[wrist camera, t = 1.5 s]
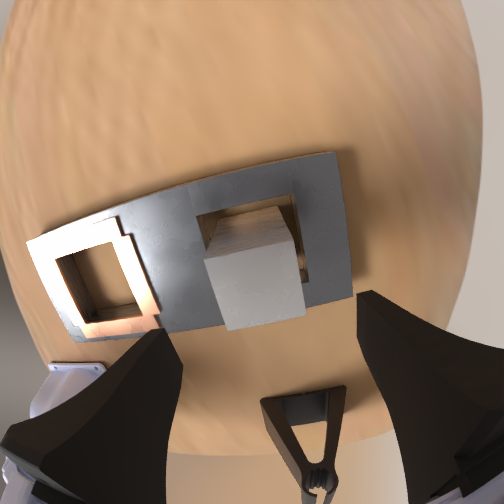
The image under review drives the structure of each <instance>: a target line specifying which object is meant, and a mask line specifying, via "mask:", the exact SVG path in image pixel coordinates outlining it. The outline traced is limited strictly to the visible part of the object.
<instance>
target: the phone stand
mask: <svg viewBox="0 0 504 504" xmlns="http://www.w3.org/2000/svg"><path fill="white" fill-rule="evenodd" d="M346 388H347V387H346V386H344V385H342V386H337V387H333V388H328V389H323V390H317V391H312V392H306V393H305V394H302V393H300V394H293V395H287V396H279V397H271V398H263V399H261V400H260V404H261V408H262V412H263V417H264V421H265V425H266V430H267V432H268V433H269V435H270V437H271V439H272V441H273V442H274V444H275V446H276V448H277V449H278V451H279V453H280V454H281V456H282V458H283V460H284V461H285V463H286V465H287V466H288V468H289V469H290V471H291V473H292V475H293V476H294V478H295V479H296V481H297V483H298V484H299V486H300V488H301V493H302V504H315V503H316V498H317V494H313V493H311V492H309V488H310V489H313V488H314V487H317V488H319V487H322V489H325V490H326V491H327V493H326V497H325V500H324V503H323V504H330V503H331V501H332V498H333V496H334V494H335V491H336V488H337V486H338V481H339V480H338V476H337V474H336V471H335V466H334V463H335V457H336V452H337V447H338V441H339V436H340V430H341V424H342V418H343V411H344V404H345V396H346ZM320 421H326V422H327V431H326V441H325V450H324V458H323V460H322V461H321V462H319V463H316V464H315V463H310V462H309V461H308V460H307V458H306V456H305V454H304V452H303V450H302V448H301V446H300V444H299V442H298V440H297V438H296V436H295V434H294V432H293V430H292V428H291V426H296V425H303V424H309V423H314V422H320Z"/></svg>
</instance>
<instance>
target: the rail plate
mask: <svg viewBox="0 0 504 504" xmlns="http://www.w3.org/2000/svg"><path fill="white" fill-rule="evenodd" d="M288 194H290V196H291V201H292V206H293V211H294V216H295V221H296V226H297V232H298V237H299V243H300V249H301V254H302V260H303V266H304V269H303V270H299V273H300V279H301V285H302V291H303V297H304V303H305V308H308V307H313V306H317V305H321V304H325V303H329V302H333V301H337V300H341V299H345V298H349V297H353V286H352V272H351V259H350V248H349V239H348V230H347V221H346V213H345V206H344V199H343V192H342V185H341V179H340V173H339V167H338V162H337V156H336V152H331V151H325V152H319V153H313V154H307V155H301V156H296V157H291V158H286V159H281V160H276V161H271V162H266V163H262V164H257V165H253V166H248V167H244V168H240V169H235V170H231V171H227V172H223V173H219V174H215V175H212V176H208V177H204V178H200V179H197V180H193V181H189V182H186V183H182V184H179V185H176V186H172V187H169V188H166V189H162V190H159V191H156V192H153V193H149V194H146V195H143V196H140V197H137V198H134V199H131V200H128V201H125V202H122V203H120V204H117V205H114V206H111V207H108V208H106V209H103V210H100V211H97V212H95V213H92V214H89V215H87V216H84V217H82V218H79V219H77V220H74V221H72V222H69V223H67V224H64V225H62V226H59V227H57V228H55V229H52V230H50V231H48V232H46V233H43V234H41V235H39V236H37V237H35V238H34V239H32V240H30V241H29V242H27V245H28V248H29V251H30V253H31V256H32V258H33V261H34V263H35V266H36V268H37V271H38V273H39V275H40V277H41V280H42V282H43V284H44V286H45V288H46V290H47V293H48V295H49V297H50V299H51V301H52V303H53V305H54V307H55V308H56V310H57V312H58V314H59V316H60V318H61V320H62V321H63V323H64V325H65V327H66V329H67V330H68V332H69V334H70V335H71V337H72V339H73V340H74V342H75V343H79V342H93V341H105V340H115V339H125V338H134V337H142V336H144V335H145V334H146V333H147V332H148V331H150V330H151V329H158V328H165V330H166V332H167V333H174V332H181V331H188V330H194V329H201V328H207V327H213V326H219V325H225V322H224V319H223V317H222V314H221V311H220V308H219V305H218V302H217V299H216V296H215V293H214V290H213V287H212V284H211V281H210V278H209V275H208V272H207V269H206V266H205V263H204V257H205V255H206V252H207V249H208V247H209V244H210V238H209V235H208V231H207V228H206V224H205V221H204V217H203V214H206V213H210V212H214V211H218V210H222V209H226V208H230V207H235V206H239V205H243V204H247V203H252V202H256V201H261V200H265V199H270V198H274V197H279V196H284V195H288ZM111 240H112V242H113V245H114V248H115V250H116V253H117V255H118V258H119V261H120V263H121V266H122V268H123V271H124V273H125V275H126V278H127V280H128V282H129V285H130V287H131V289H132V292H133V294H134V296H135V298H136V301H137V303H134V304H128V305H123V306H117V307H111V308H105V309H99V310H97V309H96V308H95V306H94V304H93V301H92V299H91V297H90V295H89V293H88V291H87V289H86V287H85V285H84V282H83V280H82V278H81V276H80V273H79V271H78V269H77V266H76V264H75V262H74V259H73V257H72V254H71V253H73V252H76V251H79V250H82V249H86V248H89V247H92V246H95V245H98V244H102V243H105V242H108V241H111Z"/></svg>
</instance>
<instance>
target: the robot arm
mask: <svg viewBox="0 0 504 504" xmlns="http://www.w3.org/2000/svg"><path fill="white" fill-rule="evenodd" d="M357 339H358V342H359V345H360V348H361V351H362V353H363V356H364V359H365V361H366V363H367V365H368V367H369V369H370V371H371V373H372V376H373V378H374V380H375V382H376V384H377V386H378V388H379V390H380V392H381V394H382V396H383V399H384V401H385V403H386V405H387V408H388V410H389V413H390V416H391V419H392V423H393V426H394V429H395V433H396V436H397V440H398V444H399V448H400V452H401V457H402V462H403V466H404V472H405V478H406V485H407V492H408V502H409V504H504V349H501V348H496V347H491V346H488V345H484V344H481V343H477V342H474V341H470V340H467V339H464V338H462V337H459V336H456V335H454V334H452V333H449V332H447V331H444V330H442V329H440V328H438V327H436V326H434V325H432V324H430V323H428V322H426V321H424V320H422V319H420V318H418V317H417V316H415V315H413V314H411V313H410V312H408V311H406V310H405V309H403V308H401V307H400V306H398V305H396V304H395V303H393V302H391V301H390V300H388V299H387V298H385V297H383V296H382V295H380V294H378V293H377V292H375V291H373V290H369V291H365V292H361V293H357ZM48 367H49V368H50V370H51V373H50V374H49V376H48V377H47V379H46V380H45V382H44V383H43V385H42V386H41V388H40V389H39V391H38V393H37V394H36V396H35V397H34V399H33V401H32V403H31V407H30V418H31V419H28V420H25V421H23V422H20V423H17V424H13V425H11V426H10V427H9V429H8V430H7V432H6V434H5V436H4V438H3V439H2V441H1V443H0V450H1V451H2V452H3V453H4V454H5V455H6V461H5V463H4V465H3V468H2V471H3V478H4V480H5V482H6V484H7V486H6V488H5V491H4V493H3V496H2V498H1V501H0V504H166V461H167V450H168V441H169V435H170V430H171V426H172V422H173V418H174V414H175V410H176V406H177V402H178V397H179V393H180V389H181V382H182V371H183V364H182V362H181V360H180V358H179V357H178V355H177V353H176V351H175V348H174V346H173V344H172V342H171V340H170V338H169V336H168V334H167V332H166V330H165V328H158V329H151V330H150V331H148V332H147V333H146V334H145V335H144V336H142V337H141V338H140V339H139V340H138V341H137V342H136V343H135V344H134V345H133V346H132V347H131V348H130V349H129V350H128V351H127V352H126V353H125V354H124V355H123V356H122V357H120V358H119V359H118V360H117V361H116V362H115V363H114V364H113V365H112V366H111V367H110V368H109V369H107V370H106V368H105V367H104V365H103V364H101V363H49V364H48ZM18 472H20V473H21V474H23V475H24V476H25V477H27V478H28V479H30V480H31V481H33V482H34V483H35V484H33V483H31V482H30V481H28V480H26V479H25V478H23V477H21V476H20V475H19V473H18Z"/></svg>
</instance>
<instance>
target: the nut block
mask: <svg viewBox="0 0 504 504" xmlns="http://www.w3.org/2000/svg"><path fill="white" fill-rule="evenodd" d="M204 263H205V266H206V269H207V272H208V275H209V278H210V281H211V284H212V287H213V290H214V293H215V296H216V299H217V302H218V305H219V308H220V311H221V314H222V317H223V319H224V322H225V325H226V328H227V331H231V330H237V329H242V328H248V327H253V326H258V325H263V324H268V323H273V322H278V321H283V320H287V319H292V318H296V317H301V316H305V315H306V309H305V303H304V297H303V291H302V285H301V279H300V273H299V267H298V262H297V256H296V250H295V245H294V240H293V238H292V236H291V233H290V231H289V229H288V227H287V225H286V223H285V221H284V219H283V217H282V215H281V212H280V210H279V208H278V206H274V207H270V208H265V209H261V210H256V211H252V212H247V213H243V214H239V215H234V216H230V217H226V218H222V219H219V221H218V223H217V226H216V229H215V231H214V234H213V236H212V239H211V241H210V244H209V247H208V249H207V252H206V255H205V257H204Z"/></svg>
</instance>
